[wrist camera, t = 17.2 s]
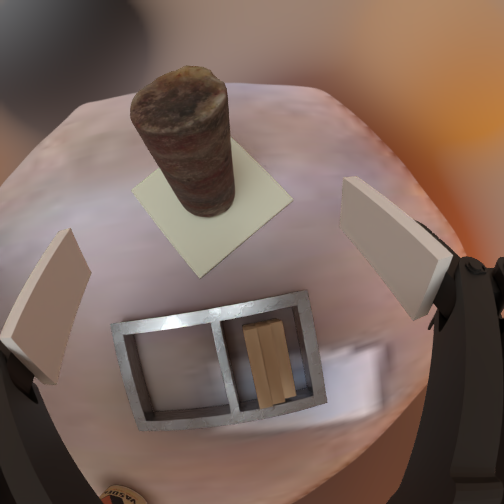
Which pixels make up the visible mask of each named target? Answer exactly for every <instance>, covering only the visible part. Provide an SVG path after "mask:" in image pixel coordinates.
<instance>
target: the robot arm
mask: <svg viewBox="0 0 504 504" xmlns="http://www.w3.org/2000/svg"><path fill="white" fill-rule="evenodd" d="M340 229H341V230H342V231H343V232H344V233H345V234H346V235H347V237H348V238H349V239H350V240H351V241H352V243H353V244H354V245H355V246H356V247H357V249H358V250H359V251H360V252H361V253H362V255H363V256H364V257H365V258H366V259H367V261H368V262H369V263H370V264H371V266H372V267H373V268H374V269H375V271H376V272H377V273H378V275H379V276H380V277H381V278H382V280H383V281H384V282H385V284H386V285H387V286H388V287H389V289H390V290H391V291H392V293H393V294H394V295H395V297H396V298H397V299H398V301H399V302H400V304H401V305H402V306H403V308H404V309H405V310H406V312H407V313H408V315H409V316H410V317H411V319H412V320H413V321H414V320H416V319H418V318H421V317H423V316H425V315H427V314H428V312H429V310H430V308H431V306H432V304H433V303H434V304H435V306H436V307H437V308H438V309H437V311H436V313H435V315H434V317H433V319H432V320H431V322H430V324H429V327H428V330H430V329H431V327H432V326H433V325H434V337H433V348H432V358H431V366H430V373H429V380H428V386H427V392H426V397H425V403H424V407H423V412H422V416H421V421H420V425H419V429H418V433H417V437H416V440H415V443H414V447H413V450H412V454H411V457H410V460H409V463H408V466H407V469H406V471H405V474H404V477H403V479H402V482H401V484H400V487H399V488H398V490H397V491H396V493H395V494H394V495H393V496H392V497H391V498H390V499H389V500H388V502H387V503H386V504H504V318H502V316H501V312H502V310H503V309H504V257H500V258H499V259H498V260H497V262H496V265H495V267H494V268H486V267H485V266H484V265H483V264H482V263H481V262H480V261H478V260H477V259H475V258H472V257H467V256H466V257H462V258H460V257H459V256H458V255H457V254H456V253H455V252H454V251H453V250H452V249H451V248H450V247H449V246H447V245H446V244H445V243H444V242H443V241H442V240H441V239H439V238H438V237H437V236H436V235H435V234H434V233H432V231H431V230H430V229H428V228H427V227H426V226H425V225H423V224H422V223H420V222H418V221H416V220H414V219H412V218H411V217H410V216H408V215H407V214H406V213H405V212H404V211H402V210H401V209H400V208H399V207H397V206H396V205H395V204H394V203H392V202H391V201H390V200H388V199H387V198H386V197H384V196H383V195H382V194H380V193H379V192H378V191H376V190H375V189H374V188H372V187H371V186H370V185H368V184H367V183H365V182H364V181H363V180H361V179H360V178H358V177H357V176H354V177H343V188H342V203H341V216H340ZM90 276H91V271H90V269H89V267H88V265H87V263H86V261H85V259H84V257H83V255H82V252H81V250H80V248H79V246H78V244H77V242H76V239H75V237H74V235H73V232H72V230H71V228H69V229H65V230H62V231H59V232H58V233H57V235H56V236H55V238H54V239H53V240H52V242H51V243H50V245H49V246H48V248H47V249H46V251H45V252H44V254H43V255H42V257H41V259H40V260H39V262H38V263H37V265H36V267H35V268H34V270H33V271H32V273H31V275H30V277H29V278H28V280H27V282H26V283H25V285H24V287H23V289H22V291H21V292H20V294H19V296H18V298H17V300H16V302H15V304H14V306H13V308H12V310H11V312H10V314H9V316H8V318H7V320H6V322H5V325H4V327H3V329H2V331H1V334H0V504H104V503H103V502H102V501H101V499H100V498H99V497H98V496H97V494H96V493H95V492H94V490H93V489H92V487H91V486H90V485H89V483H88V482H87V480H86V479H85V477H84V476H83V474H82V473H81V471H80V470H79V468H78V467H77V465H76V463H75V462H74V460H73V459H72V457H71V455H70V454H69V452H68V450H67V448H66V447H65V445H64V443H63V441H62V439H61V437H60V435H59V434H58V432H57V430H56V428H55V426H54V424H53V422H52V419H51V417H50V415H49V413H48V411H47V408H46V406H45V404H44V402H43V399H42V397H41V394H40V392H39V389H38V387H37V386H36V384H34V383H33V378H34V376H35V377H36V378H37V379H38V380H40V381H41V382H42V383H43V384H49V385H57V382H58V377H59V373H60V369H61V365H62V361H63V357H64V353H65V349H66V346H67V342H68V339H69V335H70V332H71V329H72V326H73V322H74V319H75V316H76V313H77V310H78V308H79V305H80V302H81V299H82V296H83V294H84V291H85V288H86V286H87V283H88V281H89V278H90Z"/></svg>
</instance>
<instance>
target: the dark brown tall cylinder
mask: <svg viewBox="0 0 504 504" xmlns="http://www.w3.org/2000/svg"><path fill="white" fill-rule="evenodd" d="M130 112H131V113H130V117H131V121H132V123H133V125H134V126H135V128H136V130H137V131H138V133H139V135H140V136H141V138H142V139H143V141H144V143H145V145H146V147H147V148H148V150H149V151H150V153H151V155H152V156H153V158H154V159H155V161H156V163H157V164H158V166H159V168H160V169H161V171H162V173H163V175H164V176H165V178H166V180H167V182H168V183H169V185H170V186H171V188H172V190H173V191H174V193H175V195H176V196H177V198H178V200H179V201H180V203H181V204H182V206H183V207H184V208H185V209H186V210H187V211H188V212H190V213H191V214H193V215H195V216H199V217H207V218H210V217H214V216H217V215H220V214H221V213H224V212H226V211H227V210H228V209H229V208H230V206H231V205H232V203H233V201H234V197H235V182H234V172H233V162H232V150H231V137H230V124H229V108H228V95H227V88H226V86H225V83H224V82H222V81H220V80H219V79H217V77H215V76H214V75H213V74H212V72H211V70H208V69H206V68H204V67H198V66H184V67H182V68H180V69H178V70H176V71H171V72H169V73H167V74H164V75H163V76H161V77H158V78H157V79H156V80H155V81H153V82H152V83H151V84H149V85H147V86H146V87H144V88H143V89H142V90H140V91H139V92H138V93H137V94H136V95H135V97H134V98H133V100H132V103H131V108H130Z"/></svg>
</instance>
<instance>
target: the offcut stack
mask: <svg viewBox="0 0 504 504" xmlns="http://www.w3.org/2000/svg"><path fill="white" fill-rule="evenodd" d="M242 327H243V333H244V337H245V342H246V347H247V352H248V357H249V361H250V366H251V371H252V375H253V380H254V384H255V389H256V393H257V398H258V402H259V407H260V409H263V408H268V407H273V405H274V404H278V403H283V402H285V398H289V397H293V396H296V391H295V385H294V380H293V375H292V370H291V364H290V359H289V354H288V349H287V344H286V338H285V333H284V328H283V323H282V321H281V320H278V319H276V318H275V319H270V320H266V321H261V322H256V323H251V324H246V325H242Z"/></svg>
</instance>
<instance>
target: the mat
mask: <svg viewBox="0 0 504 504" xmlns="http://www.w3.org/2000/svg"><path fill="white" fill-rule="evenodd" d="M231 150H232V162H233V172H234V182H235V197H234V201H233V203H232V205H231V206H230V208H229V209H228V210H227V211H226V212H224V213H221V214H220V215H217V216H214V217H210V218H207V217H199V216H195V215H193V214H191V213H190V212H188V211H187V210H186V209H185V208H184V207H183V206H182V204H181V203H180V201H179V200H178V198H177V196H176V195H175V193H174V191H173V190H172V188H171V186H170V185H169V183H168V182H167V180H166V178H165V176H164V175H163V173H162V171H161V169H160V168H158V169H157V170H155V171H154V172H153V173H152V174H150V175H149V176H148V177H147V178H145V179H144V180H143V181H142V182H141V183H139V184H138V185H137V186H136V187H135V188H133V189H132V190H131V191H132V192H133V194H134V195H135V197H136V198H137V199H138V201H139V202H140V203H141V205H142V206H143V207H144V209H145V210H146V211H147V213H148V214H149V215H150V217H151V218H152V219H153V221H154V222H155V223H156V225H157V226H158V227H159V228H160V230H161V231H162V232H163V234H164V235H165V236H166V238H167V239H168V240H169V241H170V243H171V244H172V245H173V246H174V248H175V249H176V250H177V251H178V253H179V254H180V255H181V256H182V258H183V259H184V260H185V261H186V263H187V264H188V265H189V266H190V268H191V269H192V270H193V271H194V272H195V274H196V275H197V276H198V277H199V278H200V279H201V278H202V277H203V276H204V275H205V274H207V273H208V272H209V271H210V270H211V269H212V268H214V267H215V266H216V265H217V264H218V263H220V262H221V261H222V260H223V259H224V258H225V257H227V256H228V255H229V254H230V253H231V252H232V251H234V250H235V249H236V248H237V247H238V246H240V245H241V244H242V243H243V242H244V241H246V240H247V239H248V238H249V237H250V236H251V235H253V234H254V233H255V232H256V231H257V230H259V229H260V228H261V227H262V226H263V225H265V224H266V223H267V222H268V221H269V220H271V219H272V218H273V217H274V216H275V215H277V214H278V213H279V212H280V211H281V210H283V209H284V208H285V207H286V206H287V205H289V204H290V203H291V202H292V201H293V199H292V197H291V196H290V195H289V194H288V193H287V192H286V191H285V190H284V189H283V188H282V187H281V186H280V185H279V184H278V183H277V182H276V181H275V180H274V179H273V178H272V177H271V176H270V175H269V174H268V173H267V172H266V171H265V170H264V169H263V168H262V167H261V166H260V165H259V164H258V163H257V162H256V161H255V160H254V159H253V158H252V157H251V156H250V155H249V154H248V153H247V152H246V151H245V150H244V149H243V148H242V147H241V146H240V145H239V144H238V143H237V142H236V141H235V140H234V139H233V138H232V137H231Z"/></svg>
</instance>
